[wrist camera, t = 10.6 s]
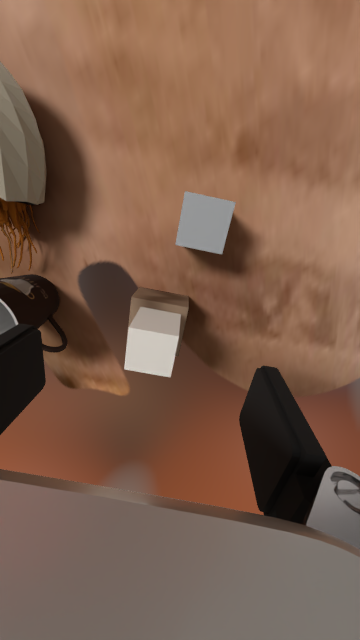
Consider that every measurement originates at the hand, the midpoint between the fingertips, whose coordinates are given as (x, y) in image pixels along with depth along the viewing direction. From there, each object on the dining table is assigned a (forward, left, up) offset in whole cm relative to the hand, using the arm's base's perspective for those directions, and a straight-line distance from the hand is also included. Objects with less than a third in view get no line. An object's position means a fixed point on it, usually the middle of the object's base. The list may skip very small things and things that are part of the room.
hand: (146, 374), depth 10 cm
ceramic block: (+1, +6, -18) cm, 19 cm away
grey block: (-2, -7, -23) cm, 24 cm away
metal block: (+1, +6, -23) cm, 24 cm away
